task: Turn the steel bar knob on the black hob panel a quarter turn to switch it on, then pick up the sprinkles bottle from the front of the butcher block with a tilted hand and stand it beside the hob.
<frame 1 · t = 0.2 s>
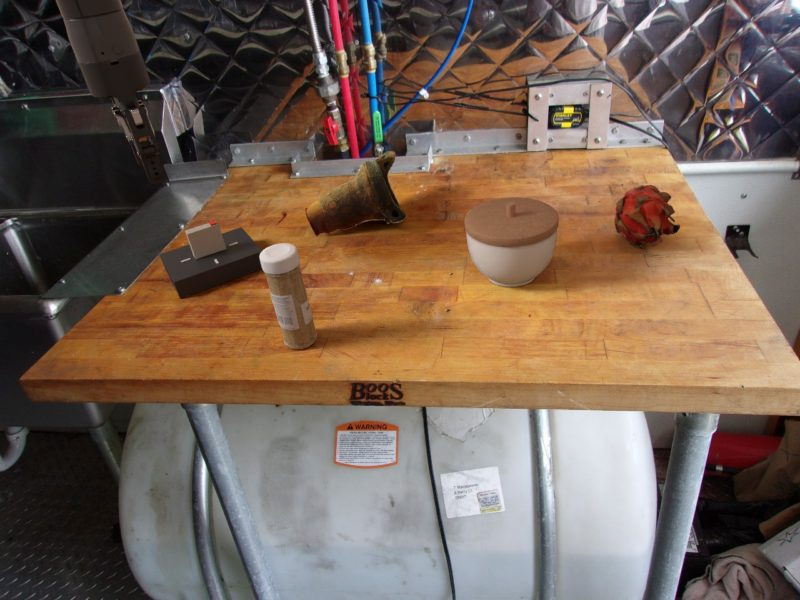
hand: (152, 173, 83), 18 cm above the worktop, tool pointing down, fingers open, 8 cm apart
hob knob: (205, 239, 92), point 5 cm above the worktop, hinge at 0.0°
sprinkles bottle: (301, 341, 77), on the worktop
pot: (371, 220, 104), on the worktop
dragon fruit: (641, 239, 89), on the worktop
lidded bowl: (511, 274, 84), on the worktop
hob: (215, 268, 95), on the worktop
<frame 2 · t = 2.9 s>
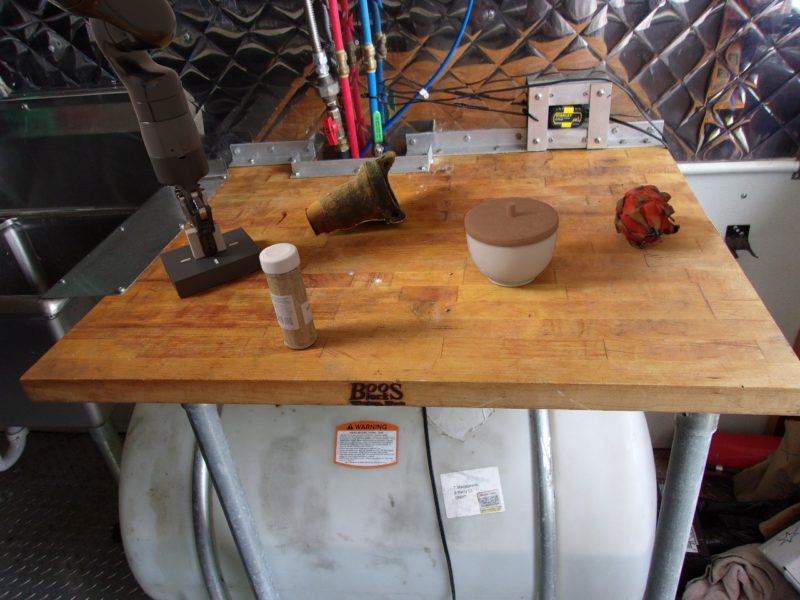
hand: (209, 250, 93), 3 cm above the worktop, tool pointing down, fingers closed on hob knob
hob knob: (205, 239, 92), point 5 cm above the worktop, hinge at 0.1°, touching gripper
everything else where it was.
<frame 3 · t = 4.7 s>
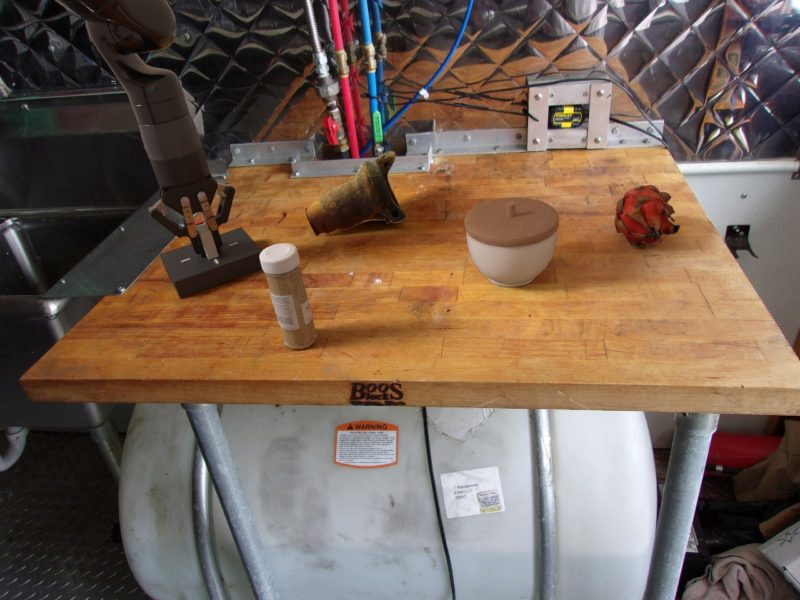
hand: (210, 251, 94), 3 cm above the worktop, tool pointing down, fingers closed on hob, 2 cm apart
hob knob: (205, 239, 92), point 5 cm above the worktop, hinge at 89.3°
everything else where it was.
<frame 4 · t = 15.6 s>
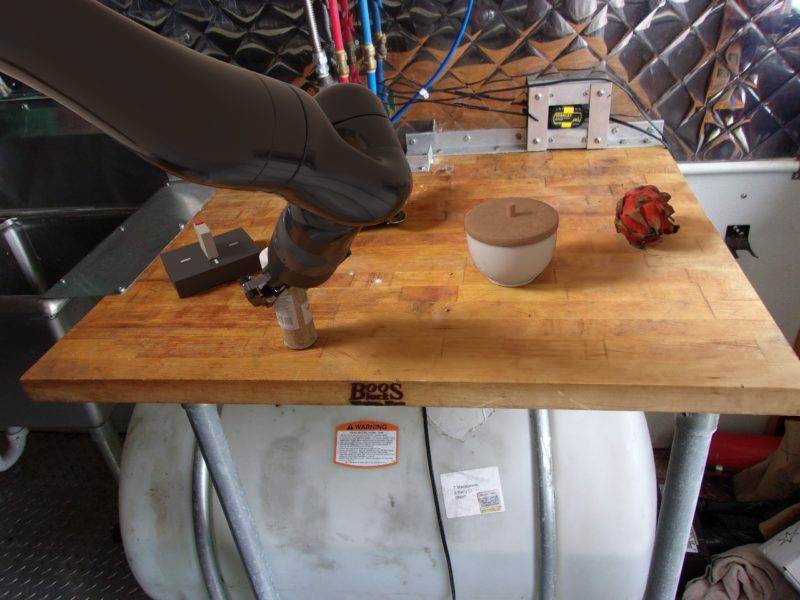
hand: (283, 292, 74), 7 cm above the worktop, tool tilted 45°, fingers closed on sprinkles bottle, 4 cm apart
sprinkles bottle: (301, 341, 77), on the worktop, touching gripper
everything else where it was.
when the fingers open (7 cm above the worktop, at t = 23.3 s): sprinkles bottle stays where it is, on the worktop.
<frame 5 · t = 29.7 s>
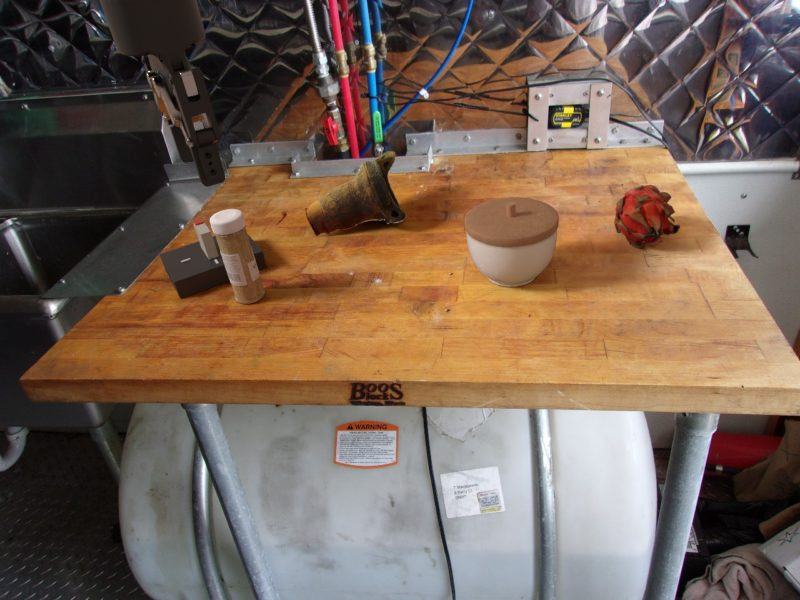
hand: (202, 171, 58), 26 cm above the worktop, tool pointing down, fingers open, 8 cm apart
sprinkles bottle: (250, 297, 87), on the worktop
everything else where it was.
at the end: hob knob at +89° (first picture: +0°); sprinkles bottle inside the target area on the worktop beside the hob (0.2 cm from its centre), on the worktop; sprinkles bottle tilted 0° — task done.
